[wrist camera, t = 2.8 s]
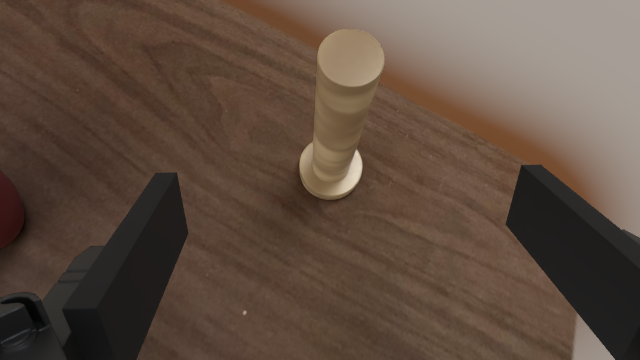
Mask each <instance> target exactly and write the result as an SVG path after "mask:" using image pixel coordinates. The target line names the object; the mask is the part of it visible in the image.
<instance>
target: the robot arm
mask: <svg viewBox="0 0 640 360" xmlns="http://www.w3.org/2000/svg"><path fill="white" fill-rule="evenodd" d="M506 225H507V227H508V228H509V229H510V230H511V232H512V233H513V234H514V235H515V236H516V238H517V239H518V240H519V241H520V243H521V244H522V245H523V246H524V248H525V249H526V250H527V251H528V253H529V254H530V255H531V256H532V257H533V259H534V260H535V261H536V262H537V264H538V265H539V266H540V267H541V269H542V270H543V271H544V272H545V273H546V275H547V276H548V277H549V278H550V280H551V281H552V282H553V283H554V285H555V286H556V287H557V288H558V289H559V291H560V292H561V293H562V294H563V296H564V297H565V298H566V299H567V301H568V302H569V303H570V304H571V305H572V307H573V308H574V309H575V310H576V312H577V313H578V314H579V315H580V317H581V318H582V319H583V320H584V321H585V323H586V324H587V325H588V326H589V328H590V329H591V330H592V331H593V333H594V334H595V335H596V336H597V338H599V340H600V341H601V342H602V344H603V345H604V346H605V347H606V349H607V350H608V351H609V352H610V354H611V355H612V356H613V357H614V358H615V360H640V238H639V237H637V236H635V235H633V234H631V233H630V232H628V231H626V230H621V229H620V228H618V227H617V226H616V225H615V224H613V223H612V222H611V221H610V220H609V219H607V218H606V217H605V216H604V215H602V214H601V213H599V211H597V210H596V209H595V208H594V207H592V206H591V205H590V204H589V203H587V202H586V201H585V200H584V199H583V198H581V197H580V196H579V195H578V194H576V193H575V192H574V191H573V190H571V189H570V188H569V187H568V186H566V185H565V184H564V183H563V182H562V181H560V180H559V179H558V178H557V177H555V176H554V175H553V174H552V173H550V172H549V171H548V170H547V169H545V168H544V167H543V166H542V165H521V169H520V173H519V176H518V180H517V184H516V187H515V191H514V195H513V199H512V202H511V206H510V210H509V213H508V217H507V221H506ZM187 235H188V229H187V224H186V219H185V213H184V208H183V203H182V198H181V192H180V187H179V182H178V177H177V173H155V175H154V176H153V178H152V179H151V181H150V182H149V183H148V185H147V186H146V188H145V189H144V191H143V192H142V194H141V195H140V196H139V198H138V199H137V201H136V202H135V204H134V205H133V207H132V208H131V209H130V211H129V212H128V214H127V215H126V217H125V218H124V220H123V221H122V222H121V224H120V225H119V227H118V228H117V230H116V231H115V233H114V234H113V235H112V237H111V238H110V240H109V241H108V243H107V244H106V246H91V247H89V248H88V249H86V250H85V251H84V252H82V253H81V254H80V255H78V256H77V257H75V259H74V260H73V261H72V263H71V264H70V265H69V267H68V268H67V269H66V272H64V273H63V274H62V276H61V277H60V278H59V280H58V283H56V284H55V285H54V286H53V287H52V289H51V290H50V291H49V293H48V294H47V295H46V297H45V298H44V299H43V300H42V302H41V299H40V298H39V297H38V296H37V295H36V294H33V293H28V292H21V293H13V294H10V295H7V296H3V297H0V360H136V359H137V356H138V354H139V352H140V349H141V347H142V344H143V342H144V339H145V337H146V335H147V332H148V330H149V327H150V325H151V322H152V320H153V318H154V315H155V313H156V310H157V308H158V306H159V303H160V301H161V298H162V296H163V293H164V291H165V289H166V286H167V284H168V281H169V279H170V276H171V274H172V272H173V269H174V267H175V264H176V262H177V259H178V257H179V255H180V252H181V250H182V247H183V245H184V243H185V240H186V238H187Z"/></svg>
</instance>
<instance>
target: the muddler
mask: <svg viewBox="0 0 640 360" xmlns="http://www.w3.org/2000/svg"><path fill="white" fill-rule="evenodd" d="M384 63H385V56H384V52H383V49H382V47H381V45H380V44H379V42H378V41H377V40H376V39H375V38H374V37H373V36H371V35H370V34H368V33H366V32H364V31H361V30H357V29H342V30H338V31H336V32H333V33H332V34H330V35H329V36H327V37H326V38H325V39H324V41H323V42H322V43H321V45H320V47H319V50H318V55H317V77H316V98H315V119H314V141H313V142H311V143H310V144H309V145H308V146H307V147H306V148H305V150H304V151H303V153H302V155H301V158H300V163H299V169H300V177H301V180H302V183H303V185H304V186H305V188H306V189H307V190H308V191H309V192H310V193H312V194H313V195H315V196H316V197H319V198H321V199H326V200H336V199H340V198H343V197H345V196H347V195H348V194H350V193H351V192H352V191H353V190H354V189H355V187H356V186H357V184H358V182H359V180H360V177H361V174H362V159H361V156H360V154H359V152H358V151H357V149H356V148H357V145H358V142H359V139H360V136H361V133H362V130H363V127H364V125H365V122H366V119H367V116H368V113H369V110H370V107H371V104H372V101H373V98H374V95H375V92H376V89H377V86H378V83H379V80H380V77H381V74H382V70H383V67H384Z"/></svg>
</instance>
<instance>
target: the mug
mask: <svg viewBox="0 0 640 360" xmlns="http://www.w3.org/2000/svg"><path fill="white" fill-rule="evenodd" d="M24 220H25V211H24V207H23V204H22V202H21V199H20V196H19V194H18V192H17V190H16V188H15V186H14V185H13V183H12V182H11V181H10V179H9V178H8V177H7V176H6V175H5V174H4V173H3V172H1V171H0V249H2V248H4V247H5V246H7V245H8V244H10V243H11V242H12V241H13V240H14V239H15V238H16V237H17V236H18V234H19V233H20V231H21V229H22V227H23V224H24Z"/></svg>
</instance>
